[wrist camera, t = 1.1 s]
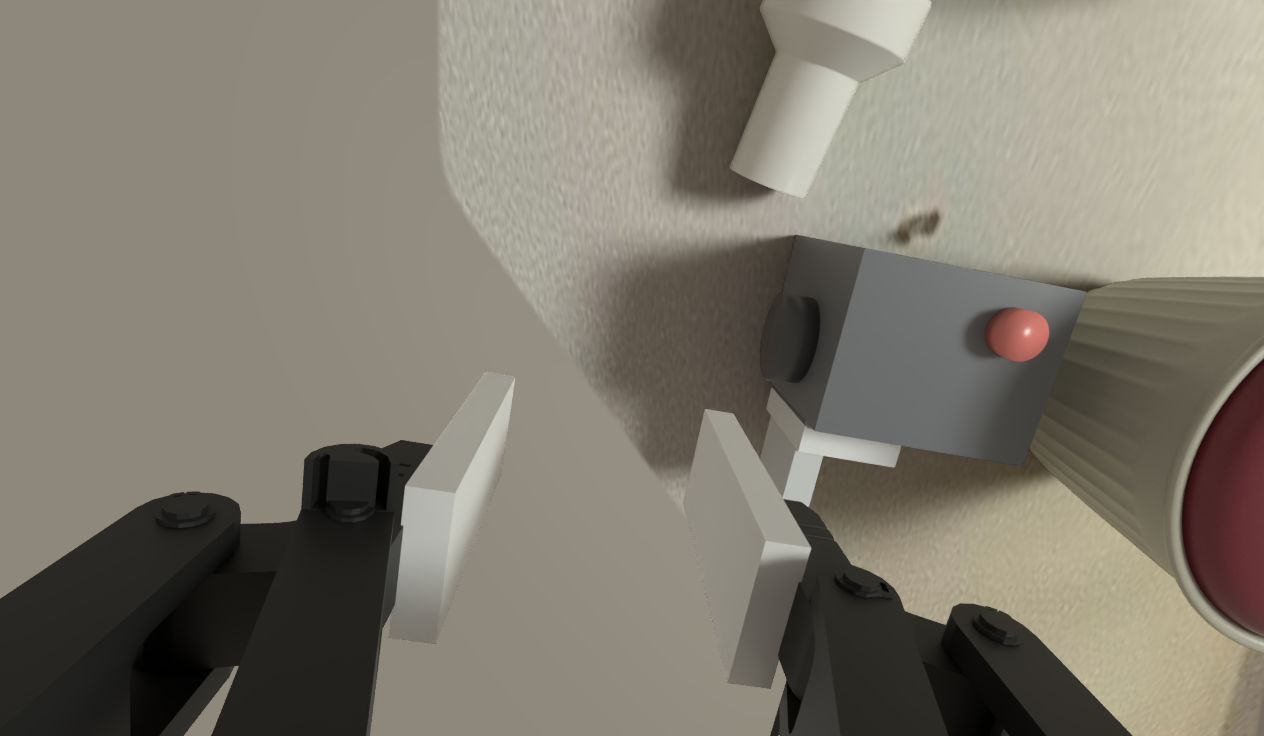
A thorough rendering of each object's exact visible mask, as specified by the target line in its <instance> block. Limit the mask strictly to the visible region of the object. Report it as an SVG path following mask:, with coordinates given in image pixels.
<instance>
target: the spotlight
mask: <svg viewBox="0 0 1264 736" xmlns="http://www.w3.org/2000/svg"><path fill="white" fill-rule="evenodd" d="M759 9H760V11H761V14H762V17H763V19H764V22H765V24H766V27H767V30H768V32H769V35H770V37H771V40H772V43H773V45H774V48H775V50H776V53H775V56H774V58H773V61H772V63H771V66H770V68H769V71H768V73H767V76H766V78H765V80H764V83H763V85H762V88H761V90H760V93H759V95H758V98H757V100H756V103H755V105H754V108H753V110H752V113H751V115H750V118H749V120H748V123H747V125H746V128H745V130H744V133H743V135H742V138H741V140H740V143H739V145H738V148H737V150H736V152H735V155H734V157H733V160H732V162H731V165H730V168H731V170H733V171H735V172H736V173H738V174H740V175H742V176H744V177H746V178H748V179H750V180H752V181H754V182H757V183H759V184H761V185H764V186H766V187H769V188H771V189H774V190H777V191H779V192H782V193H785V194H788V195H792V196H795V197H799V198H806V197H807V195H808V193H809V191H810V188H811V186H812V184H813V182H814V180H815V178H816V176H817V173H818V171H819V169H820V167H821V165H822V163H823V160H824V158H825V156H826V154H827V152H828V150H829V148H830V145H831V143H832V141H833V139H834V137H835V135H836V132H837V130H838V128H839V126H840V124H841V122H842V120H843V117H844V115H845V113H846V111H847V109H848V107H849V104H850V102H851V100H852V98H853V96H854V94H855V92H856V89H857V87H858V85H859V84H860V83H862V82H864V81H866V80H869V79H871V78H873V77H875V76H878V75H880V74H882V73H884V72H887V71H889V70H891V69H893V68H896V67H898V66H900V65H902V64H904V62H905V60H906V58H907V56H908V54H909V52H910V50H911V48H912V46H913V44H914V42H915V40H916V38H917V36H918V34H919V32H920V30H921V27H922V25H923V23H924V21H925V19H926V17H927V15H928V13H929V11H930V9H931V1H930V0H763V1H762V3H761V6H760V8H759Z"/></svg>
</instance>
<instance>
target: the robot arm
mask: <svg viewBox="0 0 1264 736" xmlns="http://www.w3.org/2000/svg"><path fill="white" fill-rule="evenodd" d="M514 382H515V377H514V376H509V375H503V374H497V373H491V372H485V373H484V374H483V376H482V377H481V378H480V380H479V381H478V383H477V384H476V386H475V387H474V388H473V390H472V391H471V393H470V394H469V395H468V397H467V399H466V400H465V401H464V403H463V404H462V406H461V407H460V408H459V410H458V411H457V413H456V414H455V415H454V417H453V418H452V420H451V421H450V423H449V424H448V426H447V427H446V428H445V430H444V431H443V432H442V434H441V435H440V437H439V438H438V440H437V441H436V443H435V444H434V445H429V444H423V443H416V442H410V441H404V440H400V441H398V442H396V443H393V444H391V445H389V446H386V447H384V448H379V447H376V446H370V445H362V444H339V445H333V446H327V447H323V448H321V449H318V450H316V451H313V452H311V453H310V454H309V455H308V456H307V457H306V458H305V460H304V476H303V492H302V507H301V508H302V509H301V511H300V514H299V516H298V519H297V520H296V521H291V522H282V523H264V524H263V523H262V524H240V522H241V511H240V507H239V504H238V503H236V502H235V501H234V500H232V499H230V498H229V497H225V496H222V495H218V494H213V493H201V492H187V493H184V492H181V493H175V494H171V495H169V496H165V497H162V498H158V499H154V500H151V501H149V502H147V503H145V504H143V505H141V506H139V507H137V508H135V509H134V510H132V511H131V512H129V513H128V514H126V515H125V516H124V517H122V518H120V519H119V520H117V521H116V522H114V523H113V524H111V525H110V526H109V527H107V528H105V529H104V530H103V531H101V532H99V533H98V534H97V535H95V536H93V537H92V538H90V539H89V540H87V541H86V542H84V543H83V544H81V545H80V546H78V547H77V548H75V549H74V550H73V551H71V552H69V553H68V554H67V555H65V556H63V557H62V558H61V559H59V560H58V561H56V562H55V563H53V564H52V565H50V566H49V567H47V568H46V569H44V570H43V571H41V572H40V573H38V574H37V575H35V576H34V577H32V578H31V579H29V580H28V581H26V582H25V583H23V584H22V585H20V586H19V587H17V588H16V589H14V590H13V591H11V592H10V593H8V594H7V595H5V596H4V597H2V598H1V599H0V736H184V734H185V733H186V732H187V731H188V729H189V728H190V727H191V725H192V724H193V723H194V722H195V720H196V719H197V718H198V716H199V715H200V714H201V712H202V711H203V710H204V709H205V707H206V706H207V705H208V703H209V702H210V701H211V700H212V698H213V697H214V696H215V694H216V693H217V692H218V691H219V689H220V688H221V687H222V685H223V684H224V683H225V682H226V680H227V679H228V678H229V676H230V674H231V672H232V670H233V668H234V666H239V667H238V670H237V673H236V675H235V678H234V680H233V683H232V685H231V688H230V690H229V693H228V695H227V698H226V700H225V703H224V705H223V708H222V710H221V713H220V715H219V718H218V721H217V723H216V726H215V728H214V730H213V733H212V735H211V736H370V729H371V721H372V713H373V704H374V695H375V688H376V679H377V671H378V663H379V654H380V644H381V636H382V628H383V627H384V625H385V623H386V621H387V619H388V617H389V615H390V613H391V621H390V630H389V638H393V639H402V640H409V641H417V642H424V643H431V644H436V642H437V640H438V637H439V634H440V632H441V629H442V627H443V624H444V621H445V619H446V616H447V614H448V611H449V608H450V606H451V603H452V601H453V598H454V595H455V592H456V590H457V588H458V585H459V582H460V580H461V577H462V574H463V572H464V569H465V567H466V564H467V561H468V559H469V556H470V554H471V551H472V548H473V546H474V543H475V541H476V538H477V536H478V533H479V530H480V528H481V525H482V523H483V520H484V517H485V515H486V512H487V510H488V507H489V505H490V502H491V499H492V496H493V494H494V492H495V489H496V486H497V484H498V481H499V478H500V476H501V470H502V464H503V456H504V450H505V444H506V437H507V430H508V423H509V417H510V410H511V403H512V396H513V389H514ZM683 505H684V509H685V513H686V517H687V521H688V525H689V529H690V533H691V537H692V541H693V545H694V549H695V553H696V557H697V561H698V565H699V569H700V574H701V577H702V582H703V586H704V589H705V594H706V598H707V602H708V606H709V610H710V614H711V618H712V622H713V626H714V630H715V634H716V638H717V642H718V647H719V650H720V655H721V659H722V663H723V667H724V671H725V675H726V679H727V683H731V684H739V685H746V686H753V687H761V688H769V689H771V685H772V682H773V678H774V675H775V672H776V668H777V665H778V661H779V660H780V663H781V665H782V668H783V671H784V673H785V676H786V679H787V681H786V684H785V688H784V691H783V695H782V698H781V701H780V704H779V708H778V711H777V715H776V718H775V721H774V725H773V728H772V731H771V735H770V736H778V735H780V736H1132V735H1131V734H1130V733H1129V732H1128V731H1127V730H1126V729H1125V728H1124V727H1123V725H1122V724H1121V723H1120V722H1119V721H1118V720H1117V719H1116V718H1115V717H1114V716H1113V715H1112V714H1111V713H1110V712H1109V711H1108V710H1107V709H1106V708H1105V707H1104V706H1103V705H1102V704H1101V703H1100V702H1099V701H1098V700H1097V699H1096V698H1095V696H1094V695H1093V694H1092V693H1091V692H1090V691H1089V690H1088V689H1087V688H1086V687H1085V686H1084V685H1083V684H1082V683H1081V682H1080V681H1079V680H1078V679H1077V678H1076V677H1075V676H1074V675H1073V674H1072V673H1071V672H1070V671H1069V670H1068V668H1067V667H1066V666H1065V665H1064V664H1063V663H1062V662H1061V661H1060V660H1059V659H1058V658H1057V657H1056V656H1055V655H1054V654H1053V653H1052V652H1051V651H1050V650H1049V649H1048V648H1047V647H1046V646H1045V645H1044V644H1043V643H1042V642H1041V641H1040V639H1039V638H1038V637H1037V636H1036V635H1034V634H1033V633H1032V632H1031V631H1030V630H1028V629H1027V628H1026V627H1025V626H1024V625H1022V624H1021V623H1019V622H1017V621H1015V620H1014V619H1012V618H1011V617H1010V616H1009V615H1008V614H1006V613H1004V612H1001V611H999V612H998V611H997V609H994V608H991V607H988V606H986V607H984V606H980V605H976V604H958V605H956V606H954V607H953V608H952V611H951V613H950V616H949V619H948V622H947V624H946V625H944V624H941V623H938V622H935V621H932V620H929V619H926V618H923V617H920V616H917V615H914V614H911V613H908V612H906V611H904V608H903V605H902V602H901V600H900V597H899V595H898V594H897V592H896V591H895V589H894V588H893V587H892V586H891V585H889V584H888V583H887V582H886V581H885V580H883V579H882V578H880V577H878V576H877V575H875V574H873V573H871V572H869V571H867V570H864V569H861V568H859V567H856V566H853V565H851V564H850V562H849V560H848V559H847V557H846V556H845V554H844V553H843V551H842V550H841V548H840V547H839V545H838V544H837V542H835V541H834V538H833V536H832V535H831V533H830V532H829V531H828V530H827V527H826V526H825V524H824V523H823V521H822V520H821V518H820V517H819V515H818V514H817V513H815V512H814V511H813V510H811V509H810V508H809V507H807V506H806V505H805V504H804V503H802V502H799V501H793V500H786V499H783V498H782V496H781V495H780V493H779V491H778V490H777V488H776V486H775V484H774V483H773V481H772V479H771V478H770V476H769V474H768V472H767V471H766V469H765V467H764V466H763V464H762V462H761V460H760V459H759V457H758V455H757V453H756V452H755V450H754V448H753V447H752V445H751V443H750V441H749V440H748V438H747V436H746V435H745V433H744V431H743V429H742V428H741V426H740V424H739V422H738V421H737V419H736V417H735V416H734V414H733V413H727V412H721V411H715V410H709V409H705V411H704V415H703V419H702V424H701V428H700V432H699V437H698V441H697V446H696V450H695V454H694V459H693V463H692V467H691V472H690V476H689V481H688V485H687V489H686V494H685V498H684V502H683ZM391 611H392V612H391Z"/></svg>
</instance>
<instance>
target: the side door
mask: <svg viewBox="0 0 1264 736" xmlns="http://www.w3.org/2000/svg"><path fill="white" fill-rule="evenodd" d="M766 409H767V411H768V412H769V413H770V415H771V418H770V422H769V426H768V429H767V433H766V437H765V441H764V445H763V449H762V453H761V457H760V460H761V462H762V464H763V466H764V467H765V469H766V471H767V472H768V474H769V476H770V478H771V479H772V481H773V483H774V484H775V486H776V488H777V490H778V491H779V493H780V495H781V496H782V498H783V499H786V500H793V501H799V502H802V503H804V504H805V505H806V506H807V507H809V505H810V501H811V498H812V494H813V491H814V487H815V484H816V480H817V477H818V473H819V470H820V466H821V463H822V459H823V456H827V457H833V458H839V459H845V460H851V461H857V462H863V463H869V464H875V465H881V466H887V467H893V468H895V465H896V462H897V459H898V456H899V453H900V450H901V446H899V445H893V444H887V443H881V442H875V441H870V440H864V439H858V438H852V437H846V436H840V435H834V434H828V433H822V432H816V431H814V430H813V429H809V428H807V426H806V425H805V422H806V421H805V420H804V419H803V418H802V417H801V416H800V414H799V413H798V412H797V411H796V410H795V409H794V408H793V406H792V405H791V404H790V403H789V402H788V401H787V400H786V399H785V397H784V396H783V395H782V394H781V393H780V392H779V391H778V390H777V388H774V387H772V388H771V392H770V396H769V400H768V403H767V407H766Z"/></svg>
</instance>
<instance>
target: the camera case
mask: <svg viewBox="0 0 1264 736" xmlns="http://www.w3.org/2000/svg"><path fill="white" fill-rule="evenodd" d="M1086 294H1087V292H1085V291H1080V290H1075V289H1070V288H1065V287H1060V286H1055V285H1050V284H1045V283H1040V282H1035V281H1029V280H1024V279H1019V278H1014V277H1009V276H1004V275H999V274H994V273H989V272H984V271H979V270H974V269H968V268H963V267H958V266H953V265H948V264H943V263H938V262H933V261H928V260H922V259H917V258H912V257H907V256H902V255H897V254H892V253H887V252H882V251H876V250H871V249H866V248H861V247H856V246H851V245H846V244H841V243H836V242H830V241H825V240H820V239H815V238H810V237H805V236H800V235H796V237H795V241H794V245H793V249H792V253H791V258H790V262H789V266H788V270H787V274H786V278H785V282H784V286H783V290H782V293H780V294H779V295H778V296H777V297H776V299H775V300H774V302H773V304H772V306H771V308H770V310H769V313H768V315H767V319H766V322H765V326H764V330H763V335H762V340H761V349H760V366H761V371H762V374H763V376H764V377H765V378H766V380H767V381H768V382H769V383H772V384H773V385H774V386H775V387H776V388H777V390H778V391H779V392H780V393H781V394H782V395H783V396H784V397H785V399H786V400H787V401H788V402H789V403H790V404H791V405H792V406H793V408H794V409H795V410H796V411H797V412H798V413H799V414H800V416H801V417H802V418H803V419H804V420H805V421H806V422H805V425H806V426H807V428H809V429H813V430H814V431H816V432H822V433H828V434H834V435H840V436H846V437H852V438H858V439H864V440H870V441H875V442H881V443H887V444H893V445H899V446H905V447H911V448H917V449H923V450H929V451H934V452H940V453H946V454H952V455H958V456H964V457H970V458H976V459H982V460H988V461H994V462H999V463H1005V464H1011V465H1017V466H1023V465H1024V462H1025V459H1026V456H1027V454H1028V451H1029V448H1030V446H1031V443H1032V440H1033V438H1034V435H1035V432H1036V429H1037V427H1038V424H1039V421H1040V419H1041V416H1042V413H1043V410H1044V408H1045V405H1046V402H1047V400H1048V397H1049V394H1050V392H1051V389H1052V386H1053V383H1054V381H1055V378H1056V375H1057V373H1058V370H1059V367H1060V365H1061V362H1062V359H1063V356H1064V354H1065V351H1066V348H1067V346H1068V343H1069V340H1070V337H1071V335H1072V332H1073V329H1074V327H1075V324H1076V321H1077V319H1078V316H1079V313H1080V310H1081V308H1082V305H1083V302H1084V300H1085V297H1086Z"/></svg>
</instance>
